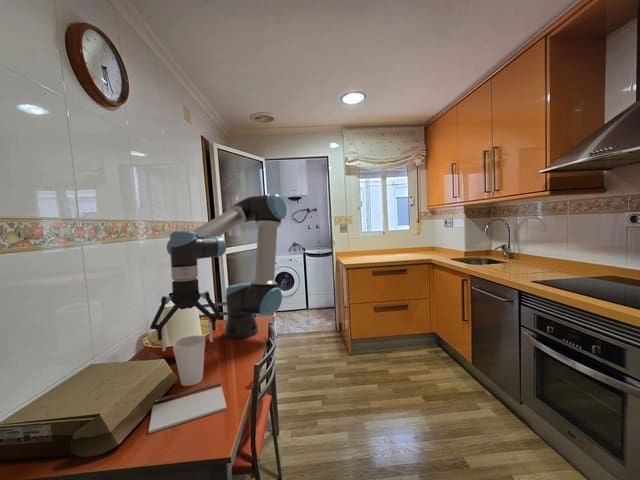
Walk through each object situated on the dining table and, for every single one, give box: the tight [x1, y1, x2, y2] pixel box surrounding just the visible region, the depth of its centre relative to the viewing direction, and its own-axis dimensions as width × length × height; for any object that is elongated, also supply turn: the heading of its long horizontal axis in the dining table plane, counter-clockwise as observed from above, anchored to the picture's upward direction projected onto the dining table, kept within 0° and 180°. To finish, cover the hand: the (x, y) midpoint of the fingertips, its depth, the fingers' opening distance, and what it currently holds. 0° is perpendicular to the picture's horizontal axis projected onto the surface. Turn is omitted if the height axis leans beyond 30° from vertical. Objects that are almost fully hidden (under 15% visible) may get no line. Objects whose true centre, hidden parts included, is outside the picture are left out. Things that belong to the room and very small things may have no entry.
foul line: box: [159, 381, 222, 403], centre depth 83 cm, size 18×1×1 cm, turn 116°
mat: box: [148, 386, 227, 434], centre depth 76 cm, size 18×11×1 cm, turn 116°
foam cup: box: [172, 335, 206, 387], centre depth 90 cm, size 10×9×13 cm
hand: (188, 345), depth 89 cm, fingers open, 13 cm apart
